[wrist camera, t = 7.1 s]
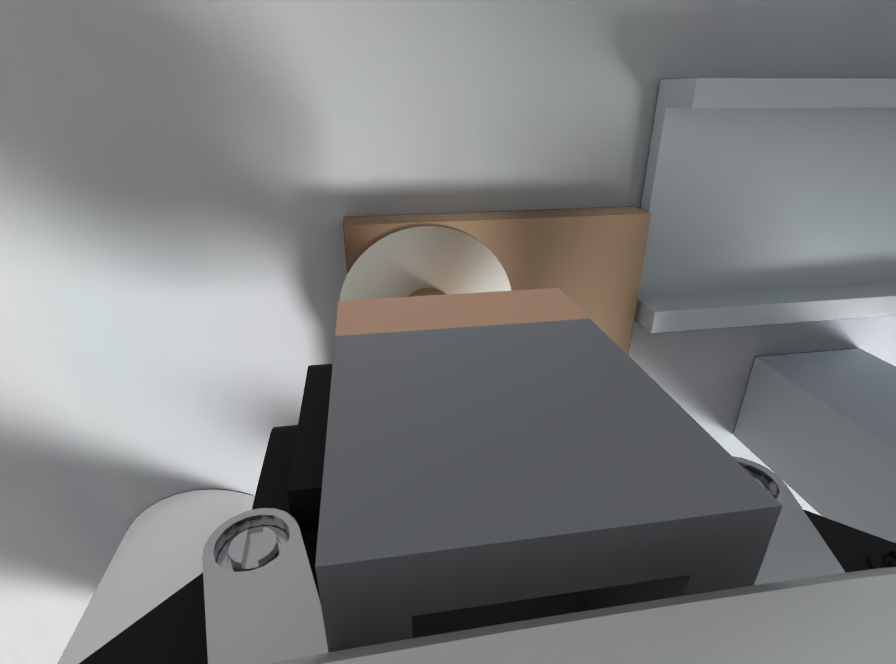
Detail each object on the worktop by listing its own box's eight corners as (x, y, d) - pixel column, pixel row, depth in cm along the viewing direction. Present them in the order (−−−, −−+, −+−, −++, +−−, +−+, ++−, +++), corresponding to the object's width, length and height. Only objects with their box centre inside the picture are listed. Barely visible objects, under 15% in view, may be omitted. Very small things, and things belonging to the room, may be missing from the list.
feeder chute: (1036, 79, 18) (1109, 78, 17) (945, 290, 22) (998, 307, 20) (660, 79, 16) (697, 77, 15) (624, 311, 20) (651, 333, 18)
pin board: (644, 205, 18) (757, 250, 13) (591, 540, 25) (652, 656, 20) (331, 217, 17) (320, 273, 12) (365, 570, 23) (368, 704, 18)
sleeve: (558, 287, 12) (782, 505, 6) (542, 461, 14) (691, 759, 8) (337, 300, 11) (315, 566, 5) (356, 481, 13) (355, 827, 7)
